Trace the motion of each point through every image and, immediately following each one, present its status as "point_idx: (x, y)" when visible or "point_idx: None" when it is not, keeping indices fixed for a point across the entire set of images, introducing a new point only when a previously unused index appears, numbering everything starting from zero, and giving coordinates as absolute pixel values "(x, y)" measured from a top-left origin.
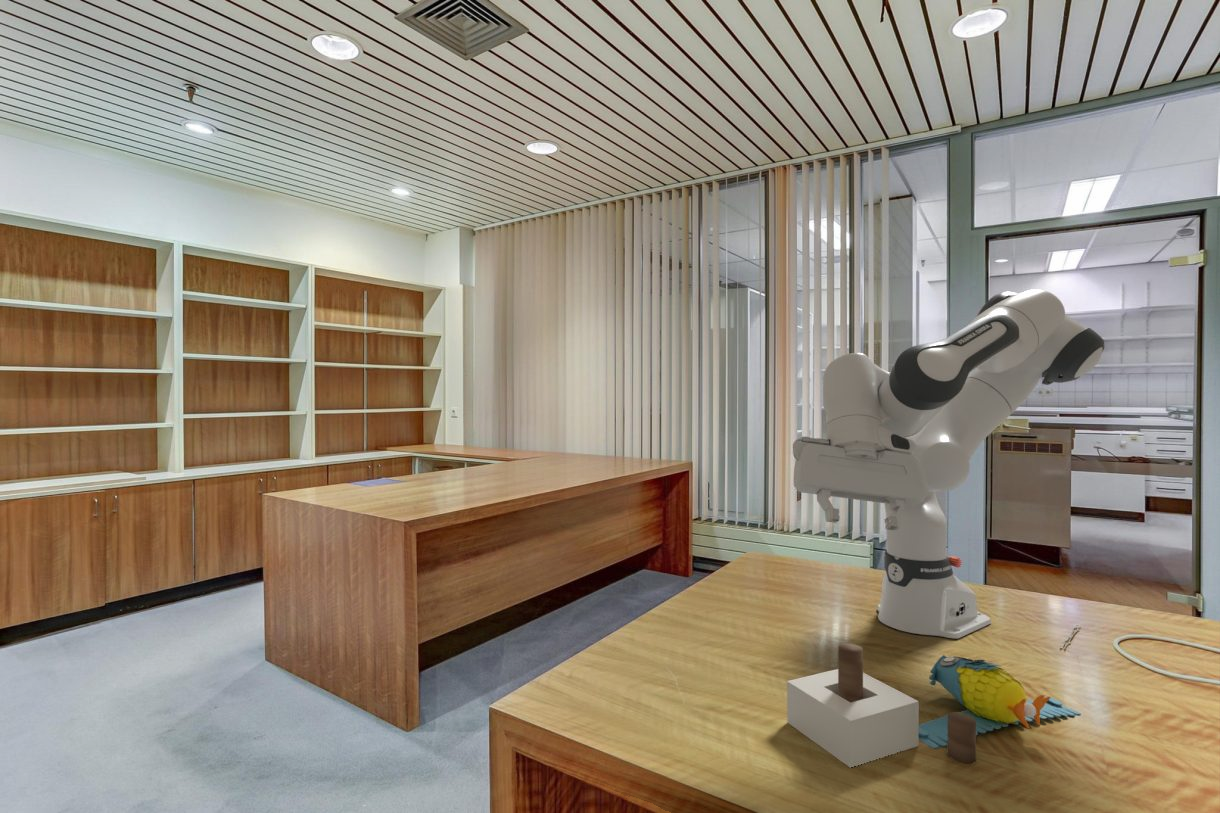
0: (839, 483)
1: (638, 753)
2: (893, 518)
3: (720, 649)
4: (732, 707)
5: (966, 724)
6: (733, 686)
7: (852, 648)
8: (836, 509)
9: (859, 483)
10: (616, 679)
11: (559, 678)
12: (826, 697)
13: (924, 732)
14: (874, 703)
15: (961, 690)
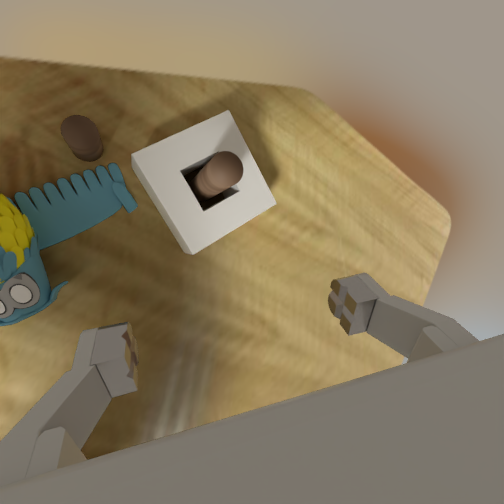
0: (456, 378)
1: (370, 154)
2: (107, 351)
3: (304, 372)
4: (302, 234)
5: (80, 116)
6: (297, 279)
7: (224, 167)
8: (363, 299)
9: (349, 442)
10: (390, 276)
11: (428, 271)
12: (242, 163)
13: (116, 186)
14: (191, 148)
15: (33, 236)
